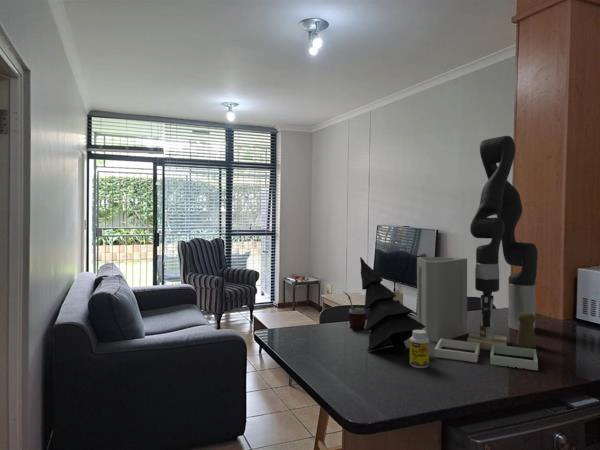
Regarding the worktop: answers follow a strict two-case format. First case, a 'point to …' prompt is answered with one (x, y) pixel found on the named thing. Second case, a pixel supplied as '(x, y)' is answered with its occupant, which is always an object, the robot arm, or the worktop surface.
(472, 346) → the offwhite tray
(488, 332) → the pill bottle
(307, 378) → the worktop surface
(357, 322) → the mate gourd
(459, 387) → the worktop surface
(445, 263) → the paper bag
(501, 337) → the birch board
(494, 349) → the sage tray
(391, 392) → the worktop surface
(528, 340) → the cork
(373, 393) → the worktop surface
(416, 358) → the supplement bottle
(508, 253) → the robot arm
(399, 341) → the decorative tree
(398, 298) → the character mug
